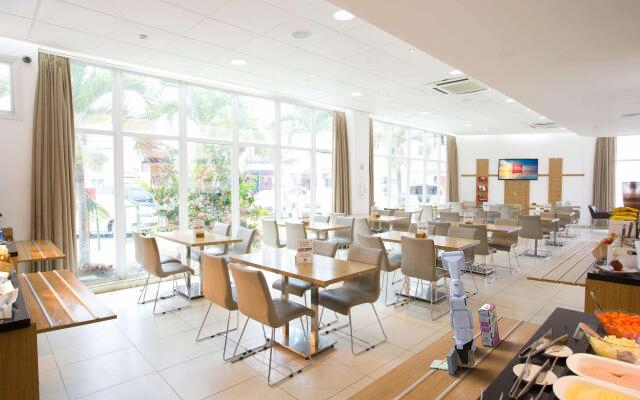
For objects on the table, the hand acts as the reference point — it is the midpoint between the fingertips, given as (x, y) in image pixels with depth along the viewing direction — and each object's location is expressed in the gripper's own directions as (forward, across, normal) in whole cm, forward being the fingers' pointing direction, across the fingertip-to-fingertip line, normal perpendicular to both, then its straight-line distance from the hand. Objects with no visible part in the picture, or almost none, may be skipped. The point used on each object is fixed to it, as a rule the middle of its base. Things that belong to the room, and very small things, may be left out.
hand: (466, 360), depth 148 cm
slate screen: (+3, 0, -5) cm, 6 cm away
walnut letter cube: (+2, 0, 0) cm, 2 cm away
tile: (+3, 0, -10) cm, 11 cm away
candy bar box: (+3, -31, +4) cm, 31 cm away
